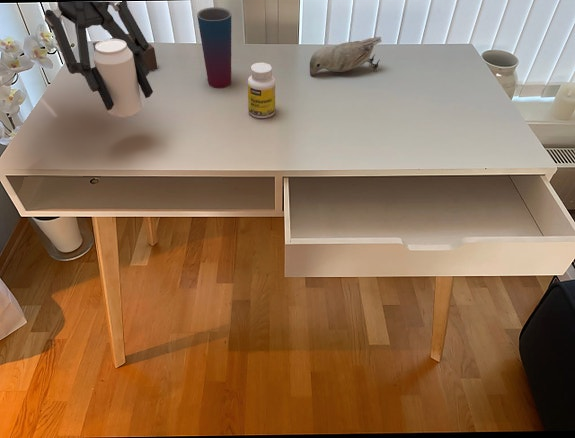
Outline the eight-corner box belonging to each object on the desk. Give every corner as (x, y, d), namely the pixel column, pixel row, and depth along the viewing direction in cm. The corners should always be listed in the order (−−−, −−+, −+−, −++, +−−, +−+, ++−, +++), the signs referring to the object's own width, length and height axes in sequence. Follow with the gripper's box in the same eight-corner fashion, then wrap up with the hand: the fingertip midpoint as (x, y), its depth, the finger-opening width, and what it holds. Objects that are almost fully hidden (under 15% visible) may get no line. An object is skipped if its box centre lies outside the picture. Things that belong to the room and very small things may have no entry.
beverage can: (115, 99, 93) (101, 35, 85) (148, 103, 92) (136, 39, 84) (100, 117, 88) (83, 51, 80) (134, 121, 88) (121, 55, 79)
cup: (202, 89, 109) (194, 20, 99) (206, 74, 114) (199, 6, 104) (234, 90, 109) (229, 21, 99) (236, 75, 114) (232, 7, 104)
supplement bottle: (247, 118, 102) (245, 73, 95) (249, 104, 105) (248, 59, 99) (274, 119, 101) (274, 74, 95) (276, 105, 105) (276, 60, 99)
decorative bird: (306, 70, 117) (307, 38, 112) (372, 63, 120) (376, 32, 115) (313, 81, 113) (315, 49, 108) (380, 73, 116) (385, 42, 111)
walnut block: (116, 81, 111) (111, 59, 108) (97, 64, 117) (92, 43, 114) (157, 68, 116) (154, 47, 113) (138, 52, 122) (134, 32, 118)
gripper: (119, -28, 91) (175, 92, 93) (7, -6, 83) (72, 125, 85) (127, -53, 85) (187, 76, 87) (6, -32, 76) (76, 111, 78)
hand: (130, 100), depth 86 cm, fingers closed on beverage can, 6 cm apart
